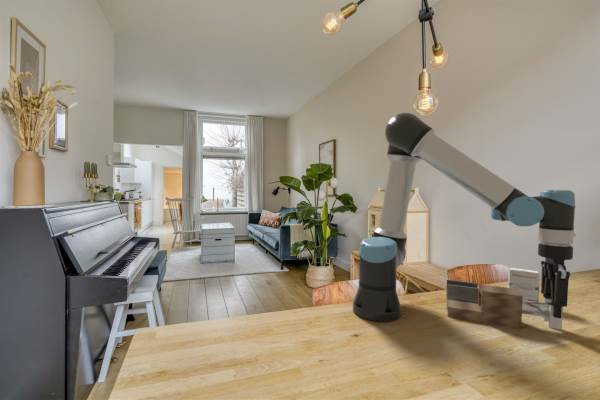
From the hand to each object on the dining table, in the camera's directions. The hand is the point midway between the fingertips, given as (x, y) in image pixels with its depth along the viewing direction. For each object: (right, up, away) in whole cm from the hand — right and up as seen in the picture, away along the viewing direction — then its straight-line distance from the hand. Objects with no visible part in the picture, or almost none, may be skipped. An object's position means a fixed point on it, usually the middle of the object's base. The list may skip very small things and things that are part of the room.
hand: (552, 324), depth 85 cm
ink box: (+7, -1, +20) cm, 21 cm away
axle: (-7, +2, +3) cm, 8 cm away
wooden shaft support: (-16, -1, +7) cm, 18 cm away
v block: (-14, -1, +22) cm, 26 cm away
